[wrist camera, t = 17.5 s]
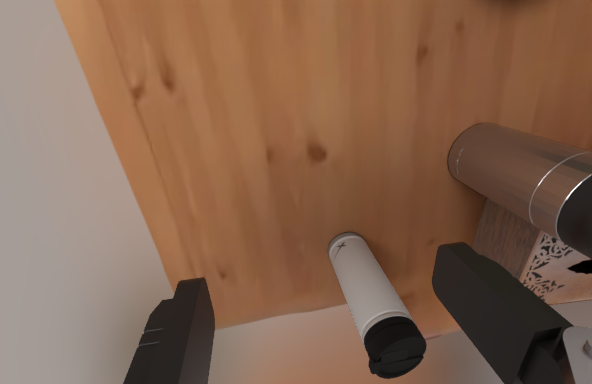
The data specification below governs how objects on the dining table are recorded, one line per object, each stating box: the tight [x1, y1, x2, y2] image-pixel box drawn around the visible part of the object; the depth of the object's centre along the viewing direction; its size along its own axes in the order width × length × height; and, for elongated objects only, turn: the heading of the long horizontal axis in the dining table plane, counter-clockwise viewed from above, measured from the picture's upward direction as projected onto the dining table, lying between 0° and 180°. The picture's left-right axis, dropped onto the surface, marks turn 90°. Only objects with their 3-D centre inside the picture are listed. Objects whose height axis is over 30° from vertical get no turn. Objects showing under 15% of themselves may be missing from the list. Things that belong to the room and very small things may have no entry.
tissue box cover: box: [471, 198, 592, 305], centre depth 48 cm, size 26×14×10 cm, turn 90°
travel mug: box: [328, 232, 426, 379], centre depth 38 cm, size 6×7×20 cm
